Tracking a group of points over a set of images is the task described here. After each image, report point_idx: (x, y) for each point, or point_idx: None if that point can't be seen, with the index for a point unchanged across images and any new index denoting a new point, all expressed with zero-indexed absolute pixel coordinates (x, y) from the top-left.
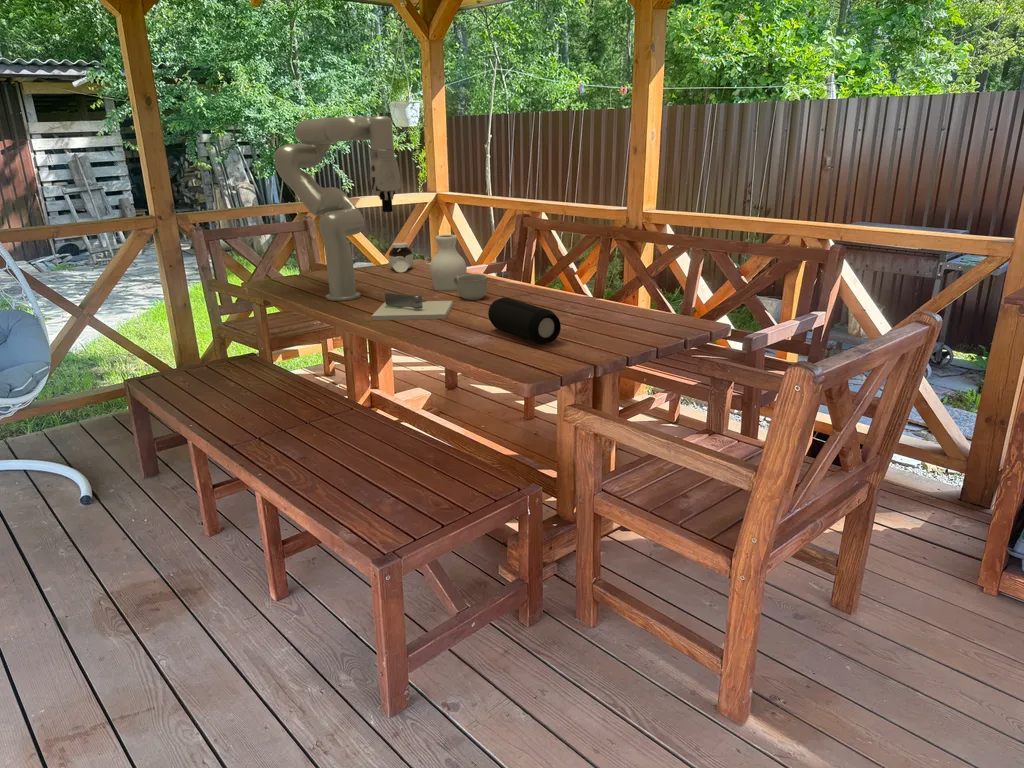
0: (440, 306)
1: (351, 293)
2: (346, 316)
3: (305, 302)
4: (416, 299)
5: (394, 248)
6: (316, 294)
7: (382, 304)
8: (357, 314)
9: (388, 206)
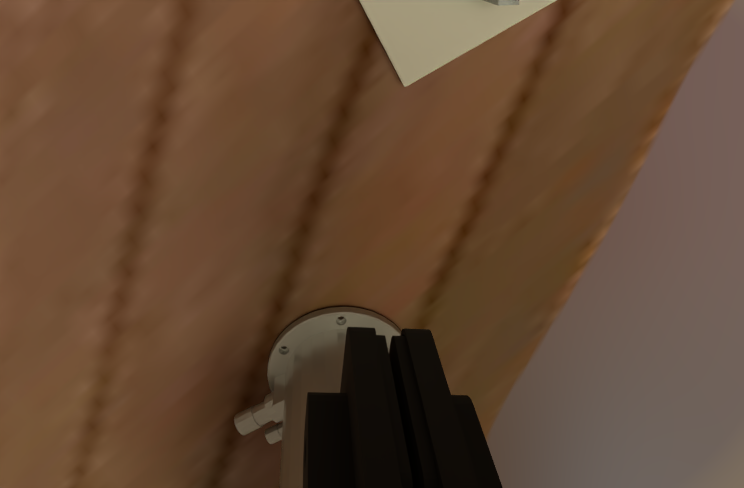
0: None
1: (345, 335)
2: (628, 108)
3: None
4: None
5: None
6: None
7: (451, 59)
8: (582, 89)
9: (448, 393)
